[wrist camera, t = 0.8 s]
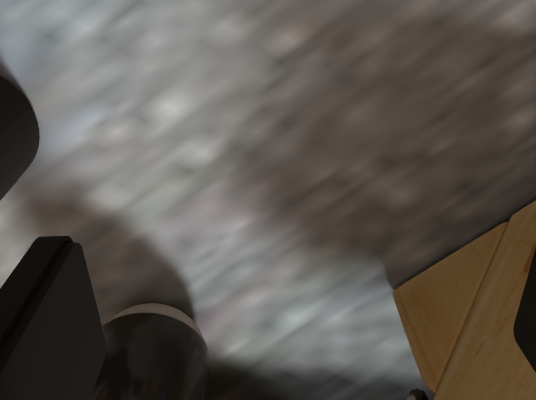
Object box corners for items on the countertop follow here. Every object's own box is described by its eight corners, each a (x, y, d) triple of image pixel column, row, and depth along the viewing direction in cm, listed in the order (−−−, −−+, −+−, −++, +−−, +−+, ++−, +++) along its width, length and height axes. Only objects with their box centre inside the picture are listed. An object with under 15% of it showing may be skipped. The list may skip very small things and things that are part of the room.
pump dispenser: (139, 263, 41) (85, 419, 28) (236, 323, 44) (229, 489, 31) (76, 333, 44) (0, 504, 31) (170, 384, 48) (138, 558, 34)
